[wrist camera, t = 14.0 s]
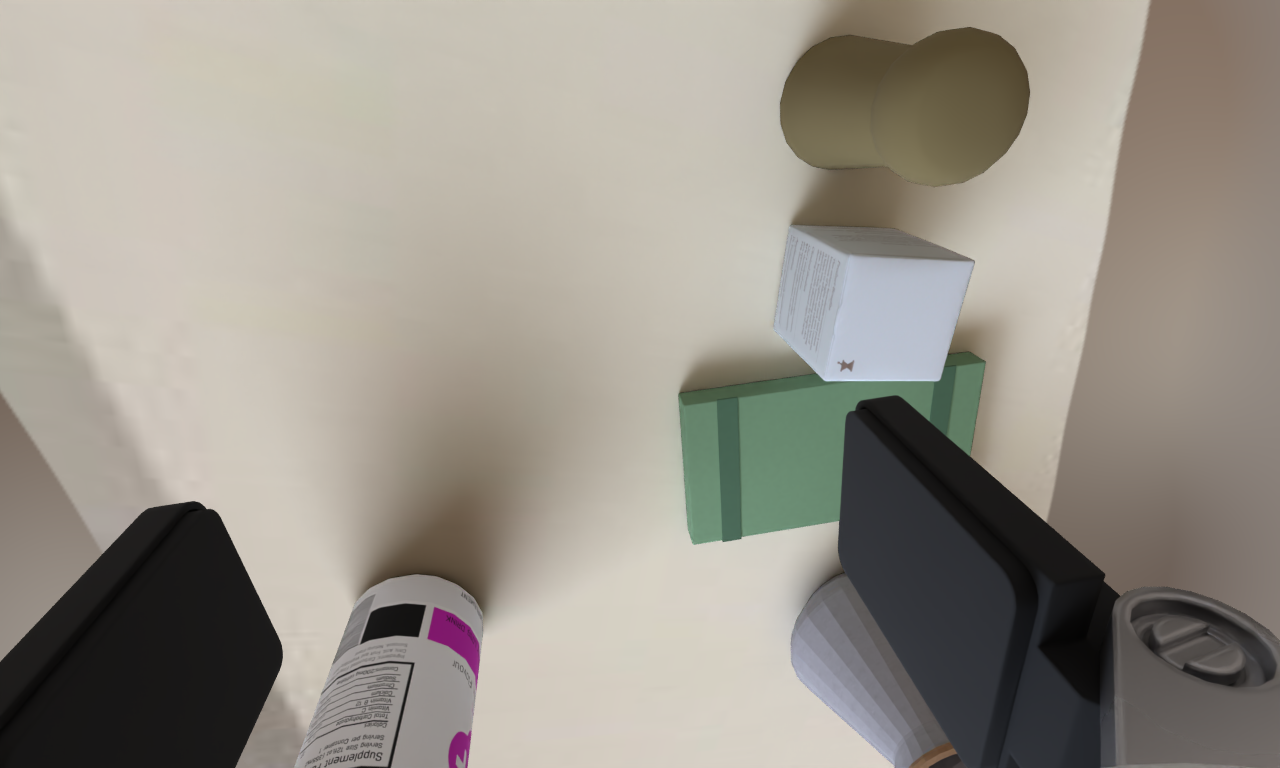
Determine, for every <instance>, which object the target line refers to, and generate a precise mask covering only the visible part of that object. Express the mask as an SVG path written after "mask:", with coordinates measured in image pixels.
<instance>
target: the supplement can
mask: <svg viewBox="0 0 1280 768" xmlns="http://www.w3.org/2000/svg"><path fill="white" fill-rule="evenodd" d="M482 637H483V613H482V611H481V610H480V608H479V606H478V604H477V602H476V600H475V599H474V597H472V596H471V595H470V594H469V593H467V592H466V591H465V590H464V589H463V588H461V587H460V586H459V585H457V584H455V583H452V582H450V581H447V580H445V579H442V578H440V577H437V576H429V575H419V574H414V575H408V576H402V577H396V578H390V579H388V580H386V581H383V582H381V583H379V584H377V585H375V586H373V587H371V588H369V589H368V590H367V591H366V592H365V593H364V594H363V595H362V596H361V597H360V598H359V599H358V600H357V601H356V602H355V605H354V607H353V610H352V613H351V615H350V618H349V621H348V624H347V626H346V629H345V632H344V634H343V637H342V640H341V642H340V645H339V648H338V651H337V653H336V656H335V659H334V661H333V664H332V667H331V669H330V672H329V675H328V677H327V680H326V683H325V686H324V688H323V691H322V694H321V696H320V699H319V702H318V704H317V707H316V710H315V713H314V715H313V718H312V721H311V723H310V726H309V729H308V731H307V734H306V737H305V740H304V742H303V745H302V748H301V750H300V753H299V756H298V758H297V761H296V764H295V766H294V768H467V766H468V758H469V749H470V740H471V732H472V723H473V715H474V706H475V697H476V689H477V680H478V671H479V663H480V654H481V645H482Z"/></svg>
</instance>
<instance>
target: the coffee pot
mask: <svg viewBox="0 0 1280 768" xmlns="http://www.w3.org/2000/svg"><path fill="white" fill-rule="evenodd" d="M791 662H792V665H793V667H794V670H795V672H796V674H797V677H798V678H799V679H800V681H801V682H802V683H803V684H804V685H805V686H806V687H807V688H808V689H809V690H811V691H812V692H813V693H814V694H815V695H816V696H817V697H818V698H819V699H821V700H822V701H823V702H824V703H825V704H826V705H827V706H828V707H829V708H831V709H832V710H833V711H834V712H835V713H836V714H837V715H838V716H839V717H841V718H842V719H843V720H844V721H845V722H846V723H847V724H848V725H849V726H851V727H852V728H853V729H854V730H855V731H856V732H857V733H858V734H859V735H861V736H862V737H863V738H864V739H865V740H866V741H867V742H868V743H869V744H871V745H872V746H873V747H874V748H875V749H876V750H877V751H878V752H879V753H881V754H882V755H883V756H884V757H885V758H886V759H887V760H888V761H889V762H891V763H892V764H893V765H894V766H895V768H967V767H966V766H965V764H964V763H963V762H962V760H961V759H960V757H959V756H958V754H957V752H956V751H955V749H954V748H953V746H952V744H951V743H950V741H949V740H948V738H947V736H946V735H945V733H944V731H943V730H942V728H941V727H940V725H939V723H938V722H937V720H936V719H935V717H934V715H933V714H932V712H931V710H930V709H929V707H928V706H927V704H926V702H925V701H924V699H923V698H922V696H921V694H920V693H919V691H918V689H917V688H916V686H915V685H914V683H913V681H912V680H911V678H910V677H909V675H908V673H907V672H906V670H905V668H904V667H903V665H902V664H901V662H900V660H899V659H898V657H897V656H896V654H895V652H894V651H893V649H892V647H891V646H890V644H889V643H888V641H887V639H886V638H885V636H884V635H883V633H882V631H881V630H880V628H879V626H878V625H877V623H876V622H875V620H874V618H873V617H872V615H871V613H870V612H869V610H868V609H867V607H866V605H865V604H864V602H863V601H862V599H861V597H860V596H859V594H858V592H857V591H856V589H855V588H854V586H853V584H852V583H851V581H850V580H849V578H848V576H847V575H846V573H843V574H841V575H838V576H836V577H834V578H832V579H831V580H829V581H828V582H826V583H824V584H823V585H822V586H821V587H820V588H819V589H818V590H817V591H816V592H815V593H814V594H813V595H812V596H811V598H810V599H809V601H808V602H807V604H806V606H805V607H804V609H803V610H802V612H801V613H800V615H799V616H798V618H797V620H796V623H795V626H794V629H793V632H792V637H791Z"/></svg>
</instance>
